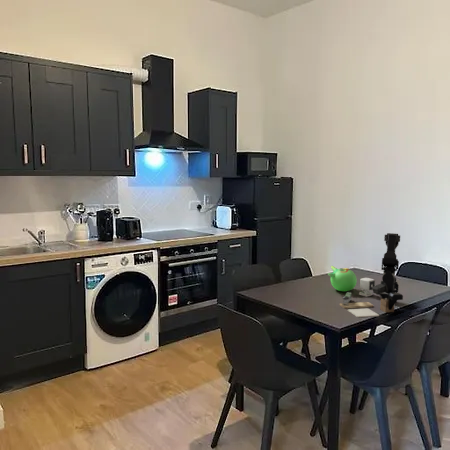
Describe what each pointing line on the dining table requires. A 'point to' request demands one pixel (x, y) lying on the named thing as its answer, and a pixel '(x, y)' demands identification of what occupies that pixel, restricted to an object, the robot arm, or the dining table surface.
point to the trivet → (363, 312)
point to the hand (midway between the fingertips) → (387, 308)
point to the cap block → (385, 306)
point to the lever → (347, 298)
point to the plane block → (356, 305)
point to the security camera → (366, 286)
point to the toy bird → (343, 279)
